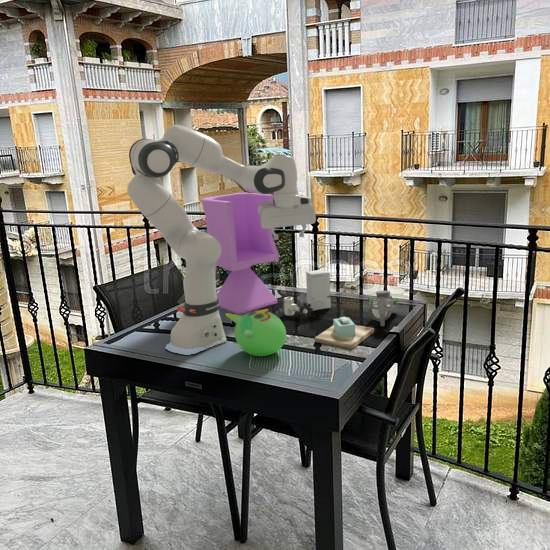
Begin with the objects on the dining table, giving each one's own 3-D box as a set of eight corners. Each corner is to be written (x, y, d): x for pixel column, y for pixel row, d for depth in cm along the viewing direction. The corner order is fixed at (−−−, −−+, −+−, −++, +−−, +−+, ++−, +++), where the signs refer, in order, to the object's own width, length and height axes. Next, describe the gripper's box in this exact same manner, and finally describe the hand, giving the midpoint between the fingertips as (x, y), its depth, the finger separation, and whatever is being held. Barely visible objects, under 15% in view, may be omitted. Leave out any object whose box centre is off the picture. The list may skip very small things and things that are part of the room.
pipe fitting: (389, 322, 191) (388, 294, 190) (368, 321, 196) (367, 293, 194) (402, 315, 201) (401, 288, 199) (382, 314, 205) (381, 288, 204)
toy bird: (297, 355, 171) (294, 311, 167) (250, 370, 163) (245, 324, 159) (269, 338, 186) (266, 298, 182) (225, 351, 178) (220, 309, 174)
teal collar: (355, 335, 179) (355, 323, 178) (339, 337, 178) (339, 325, 177) (348, 328, 186) (348, 316, 185) (333, 330, 185) (333, 318, 184)
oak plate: (352, 349, 172) (352, 344, 172) (315, 341, 180) (314, 337, 180) (374, 332, 185) (373, 328, 184) (338, 326, 193) (338, 322, 192)
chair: (236, 317, 210) (225, 202, 198) (208, 304, 228) (196, 199, 216) (282, 303, 223) (274, 194, 211) (251, 292, 240) (242, 191, 228)
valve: (279, 315, 209) (300, 322, 200) (278, 299, 207) (299, 305, 198) (292, 310, 213) (313, 317, 204) (291, 295, 211) (312, 301, 202)
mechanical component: (370, 322, 194) (369, 296, 191) (398, 325, 189) (397, 298, 186) (367, 325, 191) (366, 298, 189) (395, 328, 186) (394, 301, 183)
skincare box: (312, 311, 210) (309, 274, 206) (307, 306, 216) (304, 271, 212) (332, 307, 212) (330, 271, 208) (326, 303, 218) (324, 268, 214)
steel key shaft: (349, 334, 180) (348, 320, 179) (343, 335, 180) (342, 321, 179) (345, 330, 184) (345, 316, 183) (340, 331, 184) (339, 317, 182)
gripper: (258, 204, 187) (262, 242, 191) (315, 198, 190) (317, 236, 194) (256, 202, 193) (259, 239, 197) (311, 196, 196) (313, 233, 200)
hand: (289, 238), depth 195 cm, fingers open, 8 cm apart
